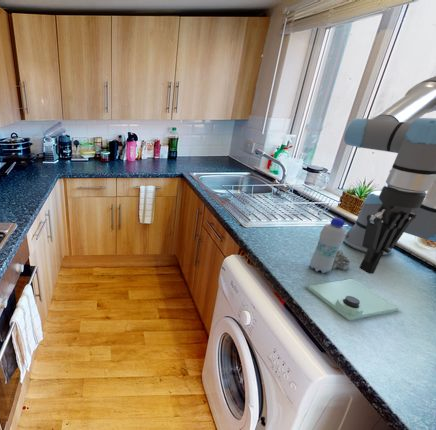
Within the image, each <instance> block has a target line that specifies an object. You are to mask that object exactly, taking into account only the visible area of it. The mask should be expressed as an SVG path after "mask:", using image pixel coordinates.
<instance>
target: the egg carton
mask: <svg viewBox="0 0 436 430" xmlns="http://www.w3.org/2000/svg"><path fill="white" fill-rule="evenodd" d="M351 263H353V261H351V260H350V259H349V258H348V256H346V255H345V254H344V252H343V251H342V249H341V250H340V249H338V252H337V254H336V257H335V259H334V263H333V266H332V268H331V270H332V269H335V270H336V269H341V270H343V271H346V270H347V269H348V268H349V266H350V264H351Z"/></svg>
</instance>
